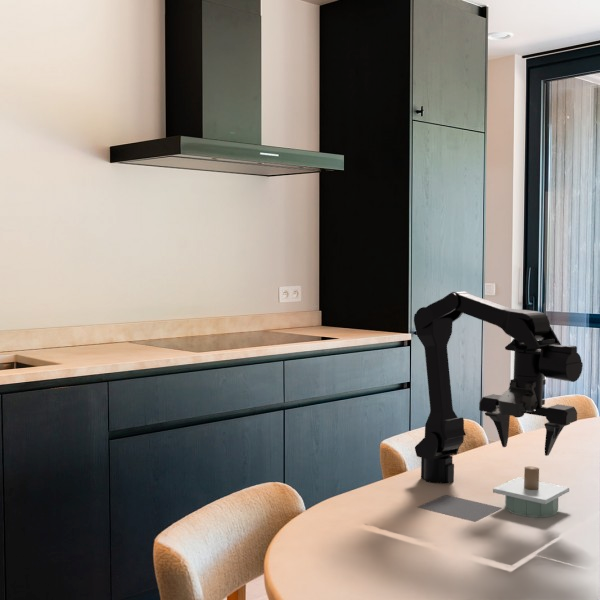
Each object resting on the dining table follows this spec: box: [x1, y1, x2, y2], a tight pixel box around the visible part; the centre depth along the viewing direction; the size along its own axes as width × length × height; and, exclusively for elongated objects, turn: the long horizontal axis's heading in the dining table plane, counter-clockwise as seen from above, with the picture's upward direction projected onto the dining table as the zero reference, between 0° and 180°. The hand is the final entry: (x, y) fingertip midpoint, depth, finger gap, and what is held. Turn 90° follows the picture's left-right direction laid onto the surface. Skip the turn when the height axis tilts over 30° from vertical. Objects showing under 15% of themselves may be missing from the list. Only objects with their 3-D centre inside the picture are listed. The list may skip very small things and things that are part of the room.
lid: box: [492, 466, 570, 504], centre depth 164 cm, size 11×11×5 cm
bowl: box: [504, 495, 559, 518], centre depth 164 cm, size 10×10×4 cm
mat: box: [417, 494, 503, 523], centre depth 165 cm, size 13×11×1 cm
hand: (525, 451), depth 166 cm, fingers open, 9 cm apart
